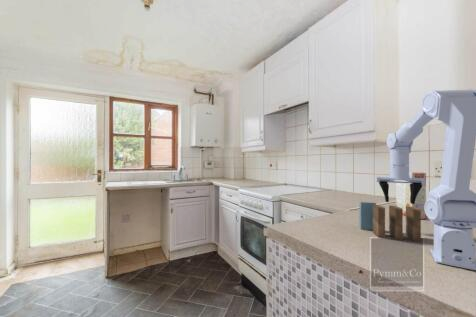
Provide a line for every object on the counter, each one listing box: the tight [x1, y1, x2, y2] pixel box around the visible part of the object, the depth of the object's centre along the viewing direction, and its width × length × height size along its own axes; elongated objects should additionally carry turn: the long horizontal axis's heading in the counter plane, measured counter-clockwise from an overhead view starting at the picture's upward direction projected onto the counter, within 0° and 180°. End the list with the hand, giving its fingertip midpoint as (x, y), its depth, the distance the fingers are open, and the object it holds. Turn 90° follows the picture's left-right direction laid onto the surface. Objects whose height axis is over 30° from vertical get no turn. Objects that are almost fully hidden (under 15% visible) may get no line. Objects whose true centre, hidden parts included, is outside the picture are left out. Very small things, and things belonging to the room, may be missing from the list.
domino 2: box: [372, 204, 386, 239], centre depth 75 cm, size 2×5×10 cm, turn 165°
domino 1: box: [358, 201, 377, 231], centre depth 82 cm, size 2×5×10 cm, turn 75°
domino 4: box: [405, 206, 422, 242], centre depth 72 cm, size 2×5×10 cm, turn 165°
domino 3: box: [388, 204, 404, 240], centre depth 73 cm, size 2×5×10 cm, turn 165°
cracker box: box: [395, 171, 427, 220], centre depth 104 cm, size 14×6×21 cm, turn 168°
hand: (399, 202), depth 80 cm, fingers open, 7 cm apart
